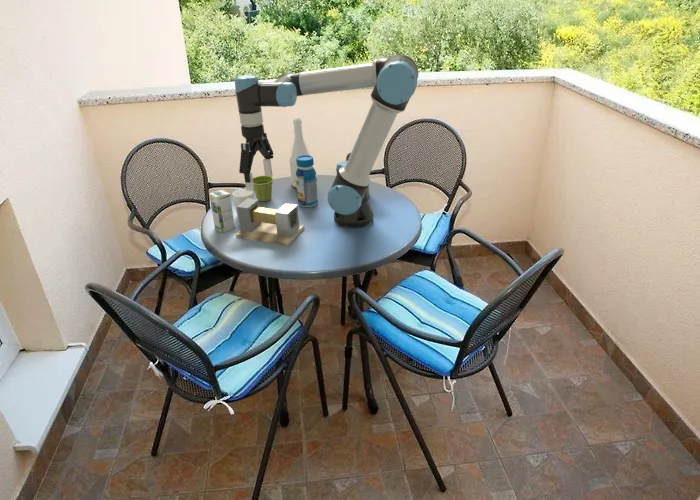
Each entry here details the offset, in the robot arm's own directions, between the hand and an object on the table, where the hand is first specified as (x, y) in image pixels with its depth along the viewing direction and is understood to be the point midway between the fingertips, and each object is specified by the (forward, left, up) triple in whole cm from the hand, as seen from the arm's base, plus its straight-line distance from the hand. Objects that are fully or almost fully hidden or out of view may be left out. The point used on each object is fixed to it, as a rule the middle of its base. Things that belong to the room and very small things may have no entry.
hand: (259, 183), depth 182 cm
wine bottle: (+6, -45, -19) cm, 50 cm away
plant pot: (+15, -26, -19) cm, 36 cm away
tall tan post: (-1, +1, -14) cm, 14 cm away
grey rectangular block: (-10, +1, -18) cm, 21 cm away
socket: (+6, +1, -18) cm, 19 cm away
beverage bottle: (-5, -27, -19) cm, 34 cm away
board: (-3, +1, -19) cm, 19 cm away
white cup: (+14, -9, -19) cm, 26 cm away
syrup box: (+16, +3, -19) cm, 25 cm away
